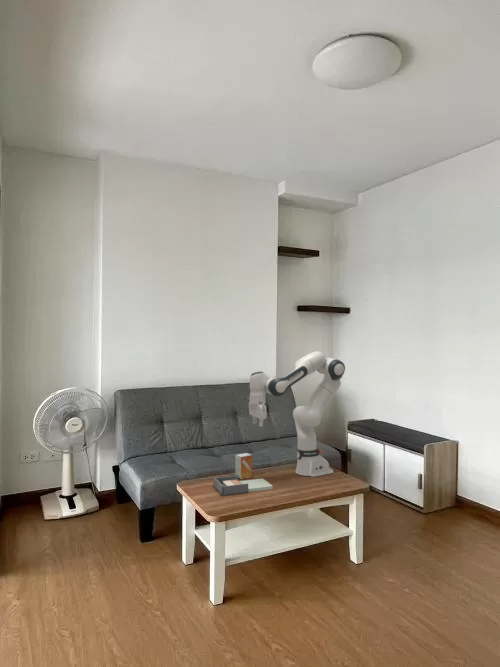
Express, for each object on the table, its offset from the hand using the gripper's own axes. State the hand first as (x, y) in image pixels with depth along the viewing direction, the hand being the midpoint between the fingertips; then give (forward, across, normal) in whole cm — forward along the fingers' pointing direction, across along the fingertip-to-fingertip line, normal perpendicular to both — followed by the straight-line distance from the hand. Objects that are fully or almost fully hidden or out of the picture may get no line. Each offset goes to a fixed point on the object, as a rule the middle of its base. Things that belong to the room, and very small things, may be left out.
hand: (258, 425), depth 265 cm
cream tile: (+30, -10, +20) cm, 38 cm away
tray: (+31, -10, +19) cm, 38 cm away
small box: (+31, +9, +6) cm, 33 cm away
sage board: (+31, -10, +5) cm, 33 cm away
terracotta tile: (+30, -10, +16) cm, 36 cm away
